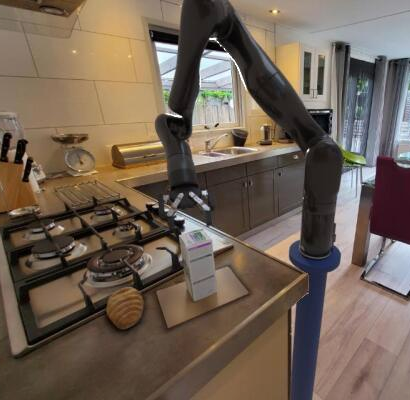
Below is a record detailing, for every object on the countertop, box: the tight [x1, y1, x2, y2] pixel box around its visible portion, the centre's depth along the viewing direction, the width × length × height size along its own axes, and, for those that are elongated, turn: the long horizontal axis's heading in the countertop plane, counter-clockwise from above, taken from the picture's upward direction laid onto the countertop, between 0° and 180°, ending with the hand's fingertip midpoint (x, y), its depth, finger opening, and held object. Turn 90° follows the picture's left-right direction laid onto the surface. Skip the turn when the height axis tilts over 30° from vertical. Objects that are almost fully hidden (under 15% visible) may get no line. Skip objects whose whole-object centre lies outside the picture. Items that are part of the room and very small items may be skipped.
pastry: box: [105, 286, 145, 331], centre depth 51 cm, size 9×7×4 cm
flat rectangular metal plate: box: [155, 265, 250, 330], centre depth 58 cm, size 18×12×1 cm, turn 123°
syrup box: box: [178, 228, 217, 302], centre depth 56 cm, size 6×6×14 cm
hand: (191, 228), depth 64 cm, fingers open, 8 cm apart
